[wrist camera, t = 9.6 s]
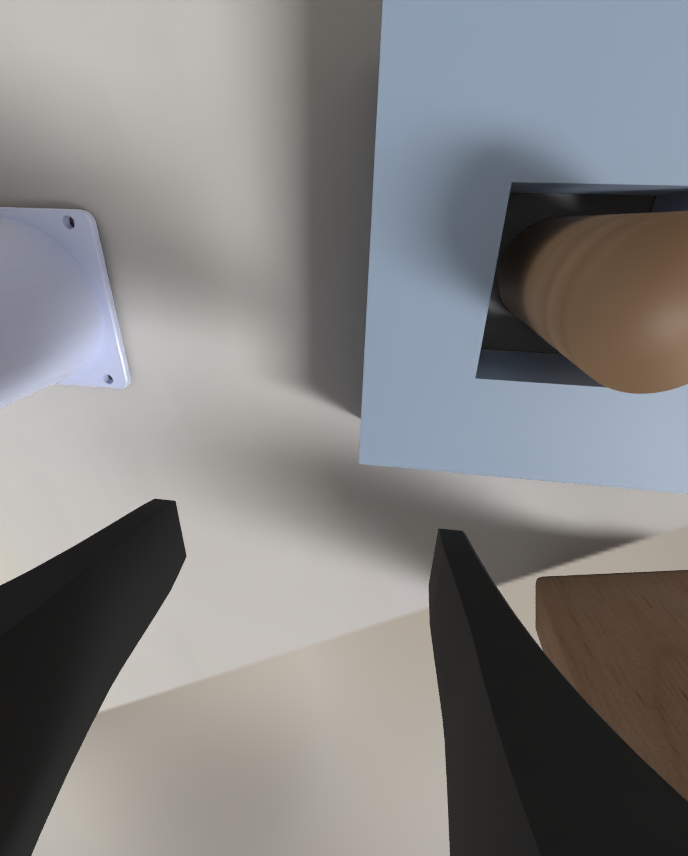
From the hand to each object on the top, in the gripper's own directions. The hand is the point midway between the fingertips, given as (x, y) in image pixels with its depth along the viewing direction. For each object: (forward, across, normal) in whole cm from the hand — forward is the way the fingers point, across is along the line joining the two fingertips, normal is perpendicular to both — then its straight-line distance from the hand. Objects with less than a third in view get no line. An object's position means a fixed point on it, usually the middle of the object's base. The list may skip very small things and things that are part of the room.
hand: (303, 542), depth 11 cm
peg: (+10, -8, -6) cm, 14 cm away
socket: (+10, -8, -6) cm, 14 cm away
